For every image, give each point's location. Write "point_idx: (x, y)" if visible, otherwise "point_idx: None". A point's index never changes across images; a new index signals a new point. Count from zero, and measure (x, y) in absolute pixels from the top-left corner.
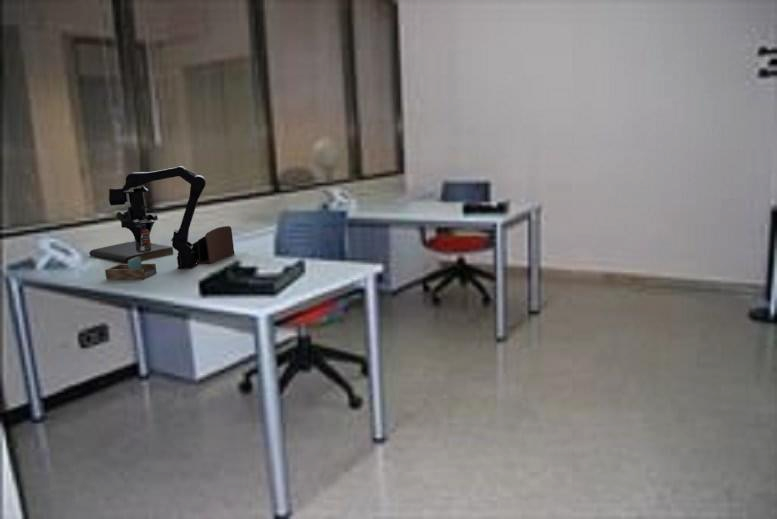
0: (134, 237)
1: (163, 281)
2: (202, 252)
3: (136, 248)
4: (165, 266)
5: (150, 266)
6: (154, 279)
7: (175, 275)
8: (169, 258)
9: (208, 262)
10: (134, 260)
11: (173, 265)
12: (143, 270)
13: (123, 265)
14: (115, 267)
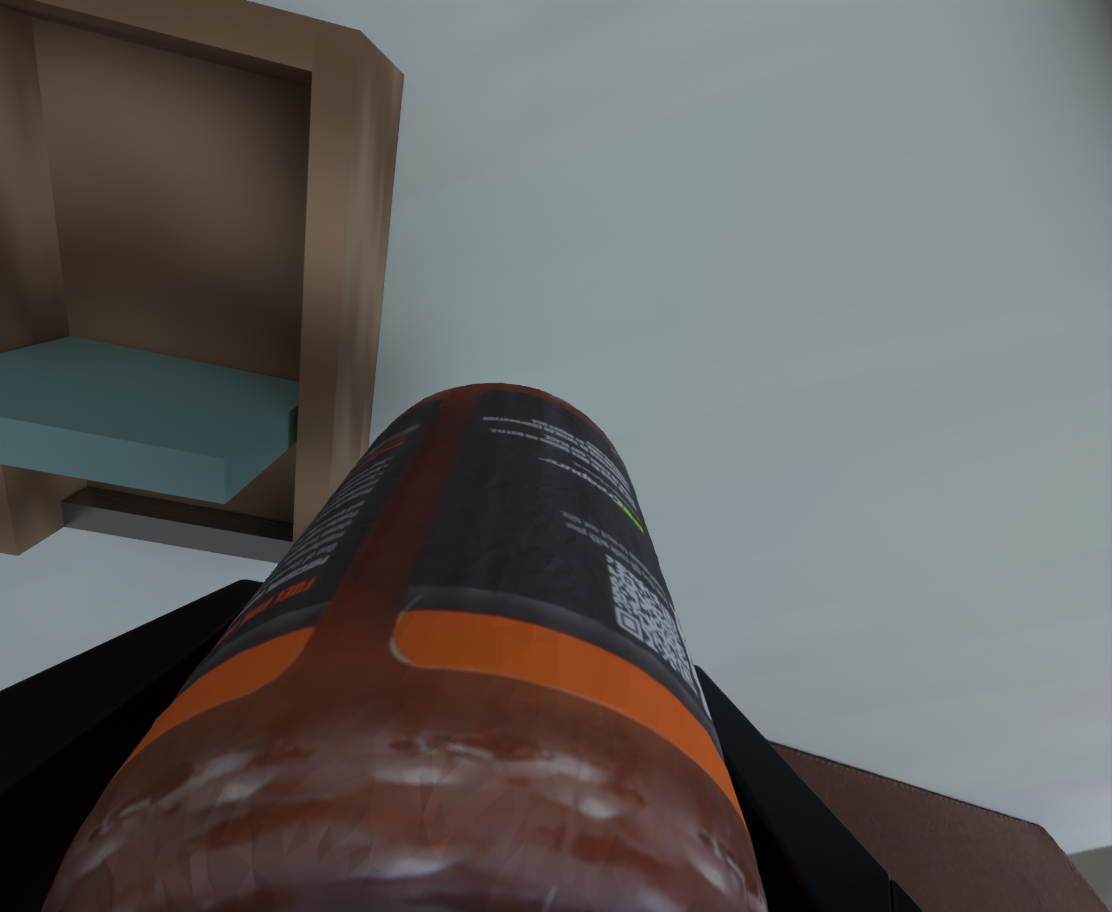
0: (330, 555)
1: (29, 672)
2: None
3: (381, 438)
4: (667, 548)
5: None
6: (96, 586)
7: None
8: (1104, 491)
9: None
10: (25, 455)
11: (687, 610)
12: (16, 544)
13: (313, 146)
14: (161, 34)
